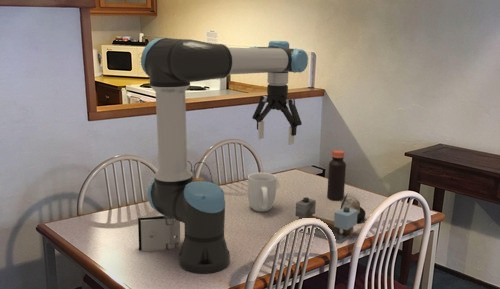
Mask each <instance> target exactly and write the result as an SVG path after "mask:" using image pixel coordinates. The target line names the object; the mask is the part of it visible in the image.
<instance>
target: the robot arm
mask: <svg viewBox="0 0 500 289" xmlns="http://www.w3.org/2000/svg"><path fill="white" fill-rule="evenodd" d="M308 60H309V57H308V53H307V52H306V50H304V49H303V48H302V49H299V48H290V43H289V41H286V40H269V42H268V45H267V46H251V47H228V46H227V45H225V44H223V43H211V42H205V41H201V40H195V39H188V38H184V39H183V38H173V37H172V38H171V37H164V38H161V37H159V38H155V39H153V40H151V41H150V42H148V43H147V45H146V46H145V47H144V48H143V50H142V52H141V56H140V64H141V65H140V66H141V68H142V71H143V72H144V73H145V75H146V76H148V78H149V87H150V88H151V89H152V90H153V91H154V92H155V109H156V130H157V132H156V134H157V154H158V155H157V156H158V170H157V172H155V173H154V176H153V177H154V179H152V181H151V182H150V183H151V184H150V185H149V186H148V190H147V200H148V203H149V205H150V207H151V208H152V209H153V210H154V211H155V212H157V213H159V214H161V216H168V217H171V218H173V219H174V220H178V221H180V223H183V224H184V239H183V242H182V245H181V248H180V251H179V254H178V264H179V266H180V268H182V269H184V270H186V271H187V272H191V273H196V274H209V273H216V272H219V271H222V270H224V269H226V268H227V267H228V266H229V265H230V261H231V252H230V251H229V249H228V245H227V242H226V238H225V222H226V221H225V220H226V219H225V218H226V216H225V214H226V199H225V192H224V190H223V188H222V187H221V186H220V185H218V184H216V183H212V181H204V180H203V181H194V182H193V178H194V173H193V171H192V172H191V169H190V170H189V168H188V162H187V161H188V148H187V146H188V143H187V142H188V141H187V140H188V139H187V112H186V111H187V110H186V109H187V108H186V107H187V106H186V90H188V89H189V88H190V86H191V83H193V82H202V81H210V80H211V81H212V80H219V79H221V80H222V79H225V78H227V77H228V76H230V75H245V74H267V86H266V88H267V91H266V94H267V95H265V94H264V95H260V97H259V102H258V104H257V106H256V109H255V111H254V113H253V115H252V117H251V118H252V120H255V121H256V130H257V139H258V140H261V139H264V138H265V136H264V135H265V121H264V119H265V118H266V116H268V114H269V113H270V112H271V111H272V110H273V111H274V110H276V111H280V112H282V113H283V116H284V117H285V118H286V120H287V122H288V124H289V125H290V126H289V127H288V143H287V144H288V145H294V144H295V136H296V135H297V128H298V127H299V126H301V125H302V121H301V118H300V115H299V111H298V109H297V106H296V100H295V98H289V99H288V94H289V91H288V90H289V86H288V84H289V73H293V74H295V73H303V72H305V70H306V69H307V67H308V64H309V61H308ZM266 103H267V104H266ZM265 104H266V106H265ZM264 107H265V108H264Z"/></svg>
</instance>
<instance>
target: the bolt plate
mask: <svg viewBox="0 0 500 289" xmlns="http://www.w3.org/2000/svg"><path fill="white" fill-rule="evenodd" d="M331 230H332V229H331ZM300 231H303V229H301V230H300ZM300 231H299V232H300ZM332 232H333V234H334V236H335V239H336V242H337V243H336V242H335V243H336V244H339V243H341V244H342V243H344V242H345V241H347V240H348V239H349V238H351V237H350V235H349V234H345V233H343V234H341V233H340V232H339V231H335V230H332ZM309 233H310V228H308V235H310V234H309ZM314 236H315V237H316V238H320V239H324V240H326V241H328V240H327V238H326V236H325V234H324V233H323V232H322V231H321V230H320V229H318V228H316V229H315V233H314Z"/></svg>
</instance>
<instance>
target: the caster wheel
mask: <svg viewBox="0 0 500 289" xmlns="http://www.w3.org/2000/svg"><path fill="white" fill-rule="evenodd" d="M348 195H349V194H348V193H347V192H346V195H344V198H343V200H341V203H340V209H342V208H344V207H349V208H350V209H354V210H358V214H357V224H360V223H363V222H364V221H365V218H366V210H365V209H364V208H363V207H361V202H360V201H359V200H358V199H356V198H352V197H350V196H348ZM340 209H339V210H340Z"/></svg>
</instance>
